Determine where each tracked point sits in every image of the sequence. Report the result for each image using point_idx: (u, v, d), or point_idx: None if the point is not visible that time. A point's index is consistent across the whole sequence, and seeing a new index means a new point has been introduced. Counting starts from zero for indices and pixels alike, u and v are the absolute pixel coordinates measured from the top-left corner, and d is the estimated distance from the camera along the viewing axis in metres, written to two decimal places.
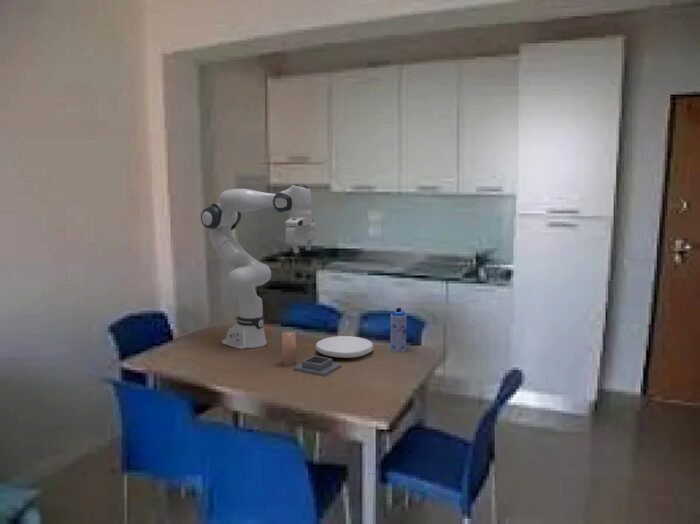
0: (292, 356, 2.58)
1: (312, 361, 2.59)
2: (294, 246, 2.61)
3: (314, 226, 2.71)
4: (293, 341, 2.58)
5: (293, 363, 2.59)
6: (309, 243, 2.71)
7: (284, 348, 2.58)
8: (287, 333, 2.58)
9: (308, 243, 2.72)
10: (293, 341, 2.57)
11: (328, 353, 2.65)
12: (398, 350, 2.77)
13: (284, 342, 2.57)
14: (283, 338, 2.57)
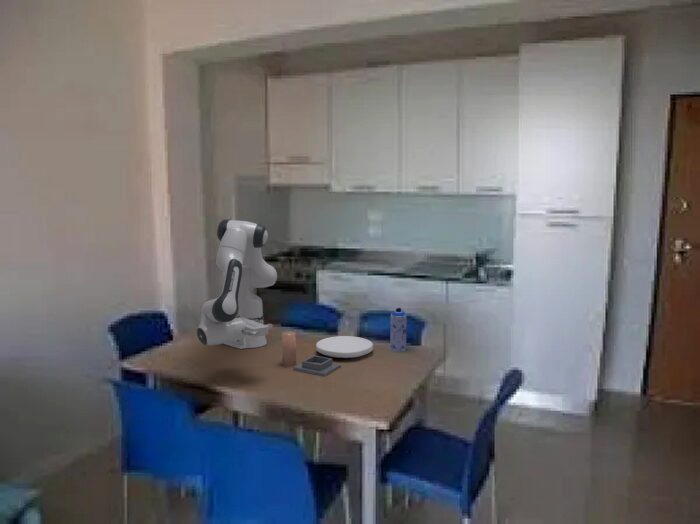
0: (292, 356, 2.58)
1: (312, 361, 2.59)
2: None
3: None
4: (293, 341, 2.58)
5: (293, 363, 2.59)
6: None
7: (284, 348, 2.58)
8: (287, 333, 2.58)
9: None
10: (293, 341, 2.57)
11: (328, 353, 2.65)
12: (398, 350, 2.77)
13: (284, 342, 2.57)
14: (283, 338, 2.57)
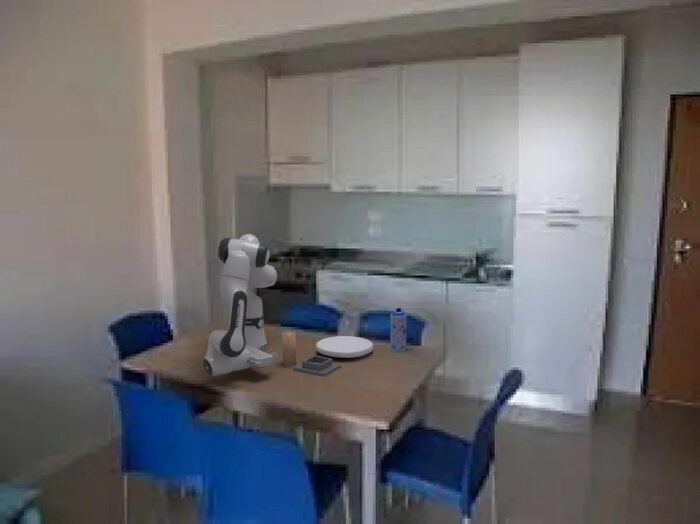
0: (292, 356, 2.58)
1: (312, 361, 2.59)
2: None
3: None
4: (293, 341, 2.58)
5: (293, 363, 2.59)
6: None
7: (284, 348, 2.58)
8: (287, 333, 2.58)
9: None
10: (293, 341, 2.57)
11: (328, 353, 2.65)
12: (398, 350, 2.77)
13: (284, 342, 2.57)
14: (283, 338, 2.57)
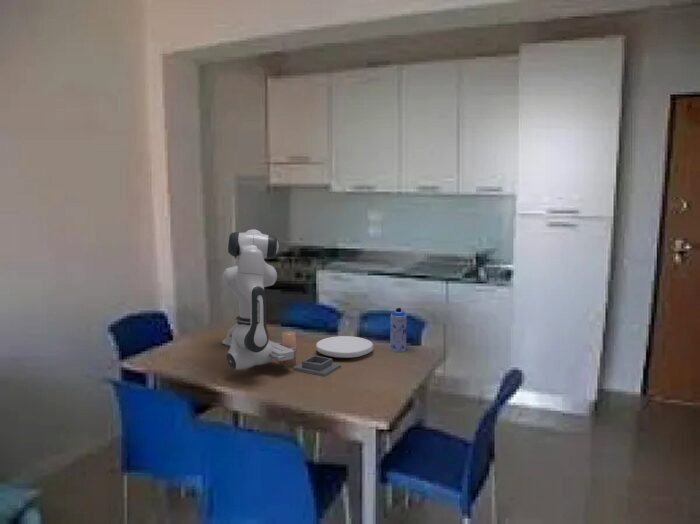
0: None
1: (312, 361, 2.59)
2: None
3: None
4: (293, 341, 2.58)
5: (293, 363, 2.59)
6: None
7: None
8: (287, 333, 2.58)
9: None
10: (293, 341, 2.57)
11: (328, 353, 2.65)
12: (398, 350, 2.77)
13: (284, 342, 2.57)
14: (283, 338, 2.57)
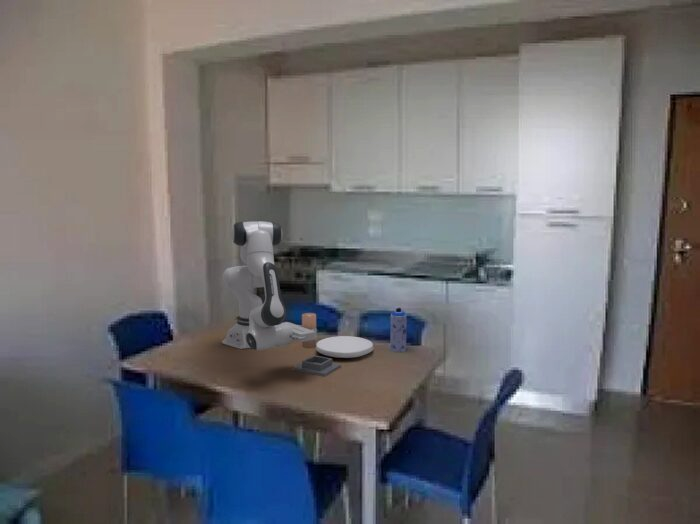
0: None
1: (312, 361, 2.59)
2: None
3: None
4: (314, 322, 2.51)
5: (313, 345, 2.52)
6: None
7: None
8: (307, 315, 2.52)
9: None
10: (313, 323, 2.51)
11: (328, 353, 2.65)
12: (398, 350, 2.77)
13: (304, 323, 2.50)
14: (303, 319, 2.51)
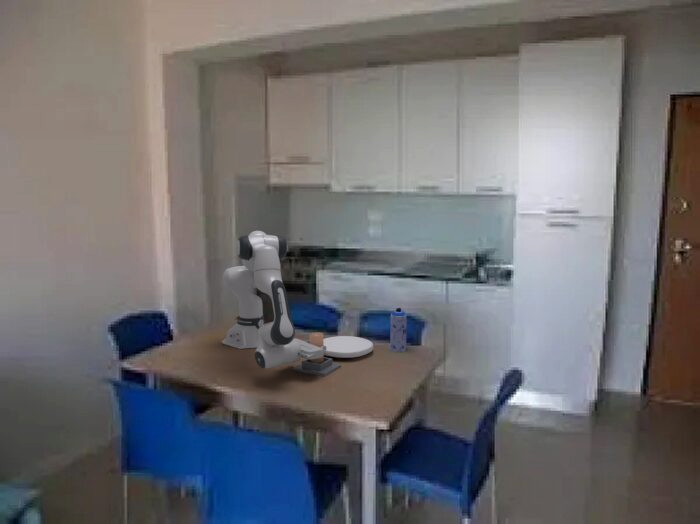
0: None
1: None
2: None
3: None
4: (321, 342, 2.51)
5: None
6: None
7: None
8: (314, 334, 2.52)
9: None
10: (320, 342, 2.51)
11: (328, 353, 2.65)
12: (398, 350, 2.77)
13: (312, 343, 2.51)
14: (311, 339, 2.51)
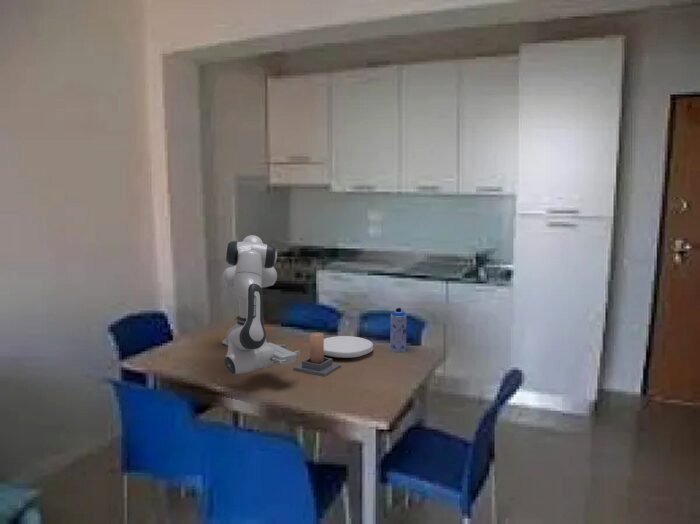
0: (320, 358, 2.52)
1: None
2: None
3: None
4: (321, 342, 2.51)
5: None
6: None
7: (312, 350, 2.51)
8: (315, 334, 2.52)
9: None
10: (321, 343, 2.51)
11: (328, 353, 2.65)
12: (398, 350, 2.77)
13: (312, 343, 2.51)
14: (311, 339, 2.51)
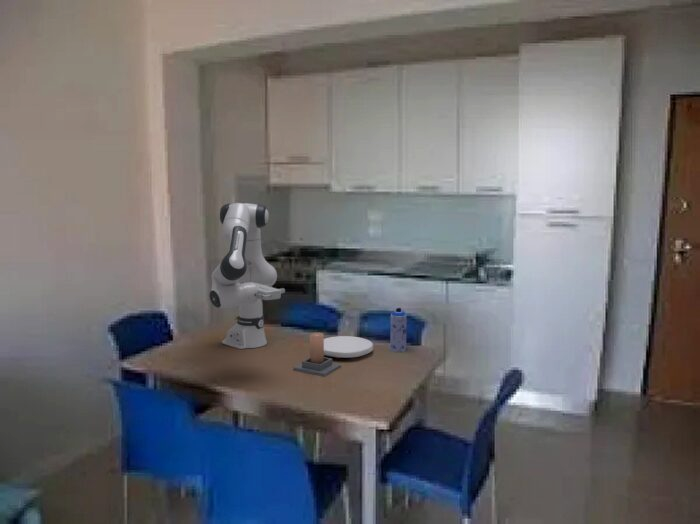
0: (320, 358, 2.52)
1: None
2: None
3: None
4: (321, 342, 2.51)
5: None
6: None
7: (312, 350, 2.51)
8: (315, 335, 2.52)
9: None
10: (321, 343, 2.51)
11: (328, 353, 2.65)
12: (398, 350, 2.77)
13: (312, 343, 2.51)
14: (311, 339, 2.51)
